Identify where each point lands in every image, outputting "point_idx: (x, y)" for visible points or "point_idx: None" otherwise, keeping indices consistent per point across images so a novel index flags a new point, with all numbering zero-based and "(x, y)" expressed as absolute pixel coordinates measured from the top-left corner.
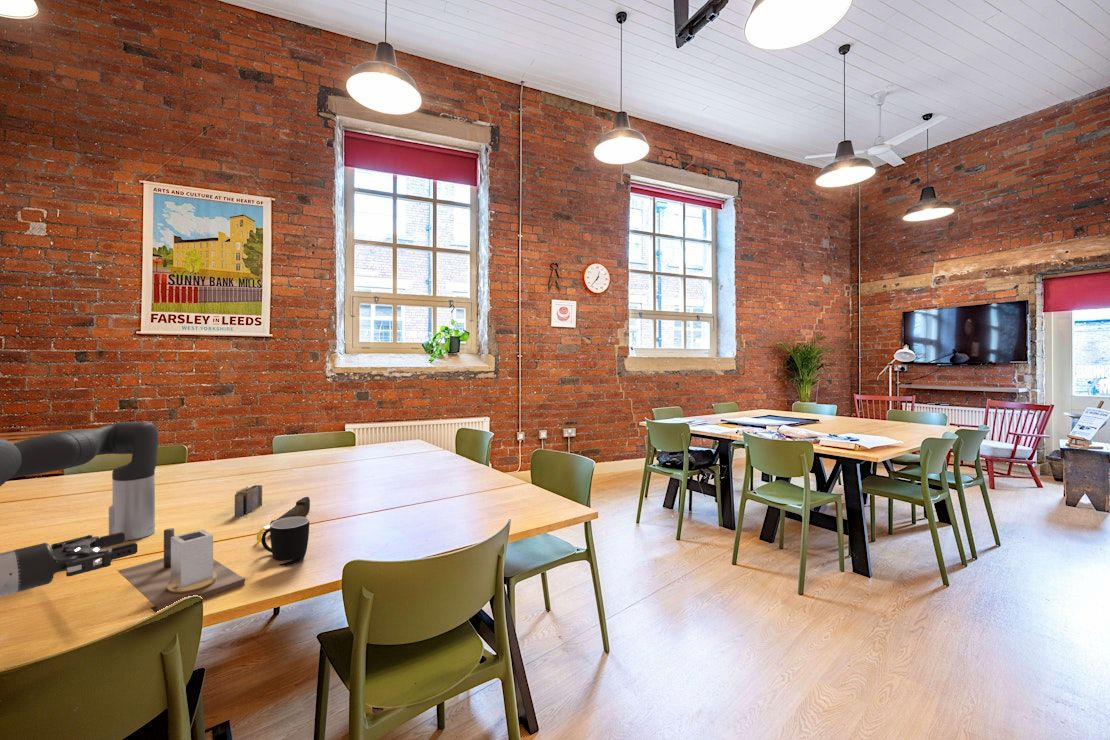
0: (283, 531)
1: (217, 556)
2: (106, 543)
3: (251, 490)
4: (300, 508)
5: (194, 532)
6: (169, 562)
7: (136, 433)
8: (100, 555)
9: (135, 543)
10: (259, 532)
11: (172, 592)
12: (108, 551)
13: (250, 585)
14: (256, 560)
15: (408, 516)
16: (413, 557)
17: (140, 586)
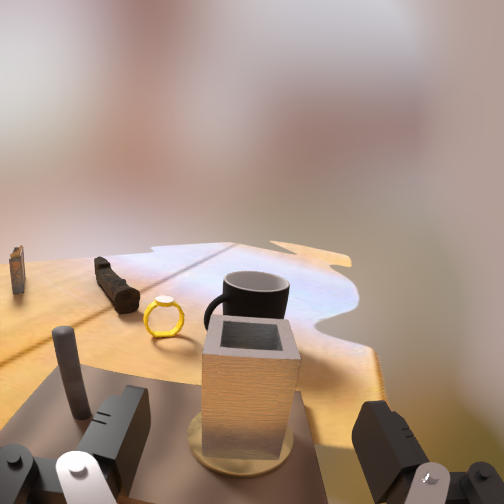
0: (282, 295)
1: (110, 368)
2: (129, 467)
3: (21, 253)
4: (114, 272)
5: (221, 325)
6: (87, 407)
7: None
8: (500, 488)
9: (383, 401)
10: (150, 311)
11: (261, 475)
12: (448, 475)
13: (306, 397)
14: (199, 360)
15: (235, 270)
16: (357, 303)
17: (134, 491)
